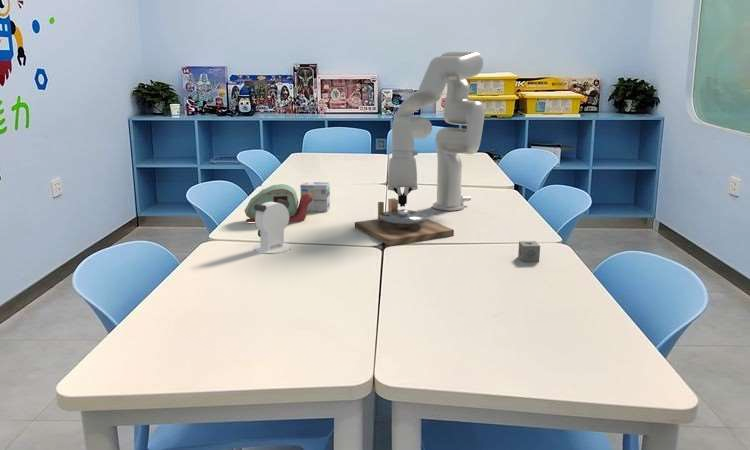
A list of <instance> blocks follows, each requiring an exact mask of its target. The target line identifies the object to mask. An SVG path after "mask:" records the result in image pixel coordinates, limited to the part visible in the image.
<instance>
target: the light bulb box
mask: <svg viewBox="0 0 750 450" xmlns="http://www.w3.org/2000/svg"><path fill="white" fill-rule="evenodd" d="M299 186H300V188H299V189H300V197H301V196H302V195H303V194H305V193H307V191H308V194H311V195H312V196H313V200H312V201H311V202H310V203H309V204H308V208H307V212H315V211H318V212H320V213H321V212H323V213H326V212H328V211H329V210H330V209H331V196H330V195H331V193H330V188H331V186H330V182H329V181H303V182H302V183H301V184H300V185H299ZM307 187H308V190H307Z"/></svg>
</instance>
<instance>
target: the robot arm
mask: <svg viewBox="0 0 750 450" xmlns="http://www.w3.org/2000/svg"><path fill="white" fill-rule="evenodd" d="M483 59H484V58H483V57H482V54H480V53H479V52H476V51H448V52H444V53H442V54H441V55H440V56H435V57H433V58H432V59H431V61H430V62H429V64H428V67H427V69H426V71H425V73H424V76H423V78H422V80H421V83H420V85H419V87H418V89H417V90H416V91H414V92H413V93H411V94H410V95H409V96H408V97H406V99H404V100H403V101H402V102H401V104H400V105H399V107H398V108H397V110H396V113H395V115H394V118H393V120H392V124H391V150H392V151H391V157H390V158H389V162H388V171H387V183H388V184H387V190H389V191H391V192H392V191H393V192H394V193H396V195H397V200H398V205H399V207H400V208H403V207H404V208H405V207H406V205H407V204H408V203H407V202H408V201H407V200H408V195H409V194H410V193H411V191H416V190H418V169H417V160H416V158H415V157H416V156H419V155H418V154H419V152H418V151H416V150H415V149H414V148H415V147H414V143H415V141H414V140H415V139H422V140H423V139H425V138H427V137H429V136H430V135H431V134H432V130H433V124H432V123H431V121H430V120H429V119H428V118H426V117H422V116H412V115H413V114H414V113H415V112H417V111H418V110H420V109H422V108H425V107H427V106H430V105H432V104H435V103H437V102H439V100H441V97H442V95H443V93H444V90H445V88H446V96H445V101H444V103H445V104H444V109H443V120H444V122H445V123H447V124H450V125H457V126H466V128H459V127H443V128H441V129H439V130H438V131H437V132H436V135H435V147H436V154H437V171H436V172H437V173H436V174H437V175H436V179H437V180H436V201H435V202H434V203H432V208H433V209H435V210H439V211H446V212H447V211H449V212H451V211H460V210H463V209H464V208H465V204H464V203H465V202H470V201H471V200H472V197H471V196H470V195H468V196H464V195H462V174H463V173H462V172H463V163H462V159H461V157H460V155H459V154H462V155H474V154H476V153H477V152H478V150H479V148H480V145H481V141H482V134H483V128H484V123H485V108H484V106H483V104H482V102H481V101H478V100H469V95H470V85H469V83H468V81H467V79H470V78H473V77H475V76H478V75H479V74H480V73H481V72H482V70H483V68H484V67H483V66H484V60H483ZM401 188H403V192H402V190H401Z"/></svg>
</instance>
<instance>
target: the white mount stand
mask: <svg viewBox="0 0 750 450" xmlns="http://www.w3.org/2000/svg"><path fill="white" fill-rule="evenodd" d="M288 207H289V202H288V201H287V200H282V199H278V200H277V203H275V202H266V203H264V204H262V205H260V204H255V206H254V210H257V211H256V216H255V223H254V224H255V226H256V228H257V229H258V231H257V236H258V237H259V238H260V243H259V244H258V245H256V246H255V247H254V251H255V250H256V251H255V252H257V251H258V252H257V253H259V252H262V253H261V254H264V253H277V254H282V253H281V252H283V253H286V252H288V251H290V250H291V249H290V248H292V246H291V244H289V243H286V242H285V240H284V239H285V229H286V228H287V227H288V224H289V223H290V222H289V212H288V210H287V208H288ZM288 222H289V223H288ZM289 249H290V250H289ZM287 250H288V251H287ZM285 251H286V252H285Z"/></svg>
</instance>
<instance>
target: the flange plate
mask: <svg viewBox="0 0 750 450" xmlns="http://www.w3.org/2000/svg"><path fill="white" fill-rule="evenodd" d="M387 202H388V206H387V207H388V209H387V211H384V213H382V214H381V215H380V220H381V221H382V222H385V223H388V224H394V225H414V224H420V223H423V222H425V221H426V220H427V219H428V218H427V217H428V215H427V214H426V213H424V212H421V211H419V210H418V211H417V210H411V209H410V210H408V209H403V208H402V209H399V204H398V198H388V200H387Z"/></svg>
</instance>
